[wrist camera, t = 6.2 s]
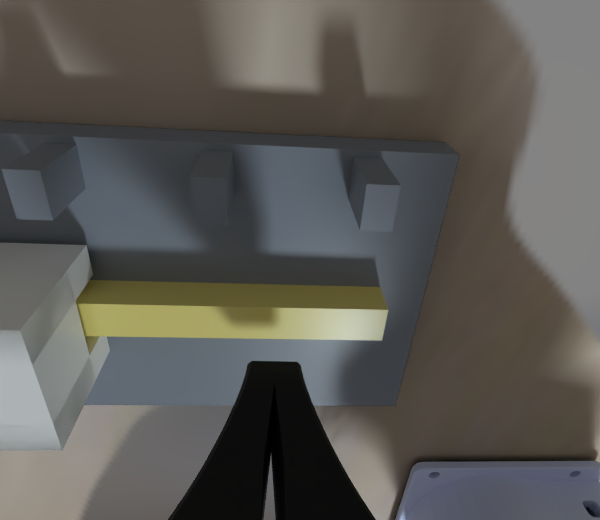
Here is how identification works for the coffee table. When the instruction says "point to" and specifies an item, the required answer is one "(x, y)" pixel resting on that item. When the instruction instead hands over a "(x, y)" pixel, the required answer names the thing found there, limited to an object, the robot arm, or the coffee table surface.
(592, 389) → the coffee table surface
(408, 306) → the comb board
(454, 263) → the coffee table surface
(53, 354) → the sleeve
